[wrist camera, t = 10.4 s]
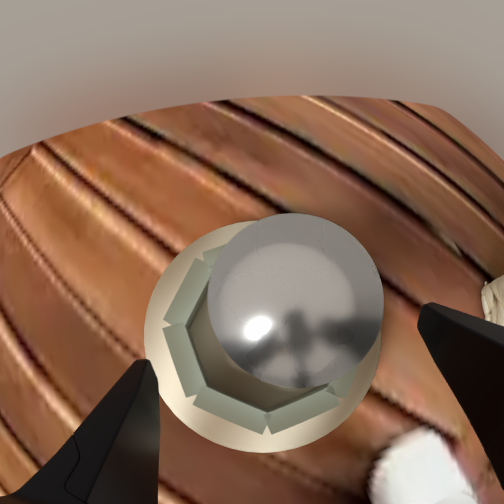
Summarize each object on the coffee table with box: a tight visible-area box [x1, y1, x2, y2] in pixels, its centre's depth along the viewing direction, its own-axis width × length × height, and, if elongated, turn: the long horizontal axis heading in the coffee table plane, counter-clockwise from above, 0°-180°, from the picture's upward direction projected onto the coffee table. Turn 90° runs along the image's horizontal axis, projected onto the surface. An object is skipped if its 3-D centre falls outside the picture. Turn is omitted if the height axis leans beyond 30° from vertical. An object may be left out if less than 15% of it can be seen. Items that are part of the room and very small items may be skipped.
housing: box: [207, 213, 384, 388], centre depth 12 cm, size 5×5×9 cm
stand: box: [144, 221, 381, 453], centre depth 17 cm, size 14×14×4 cm
